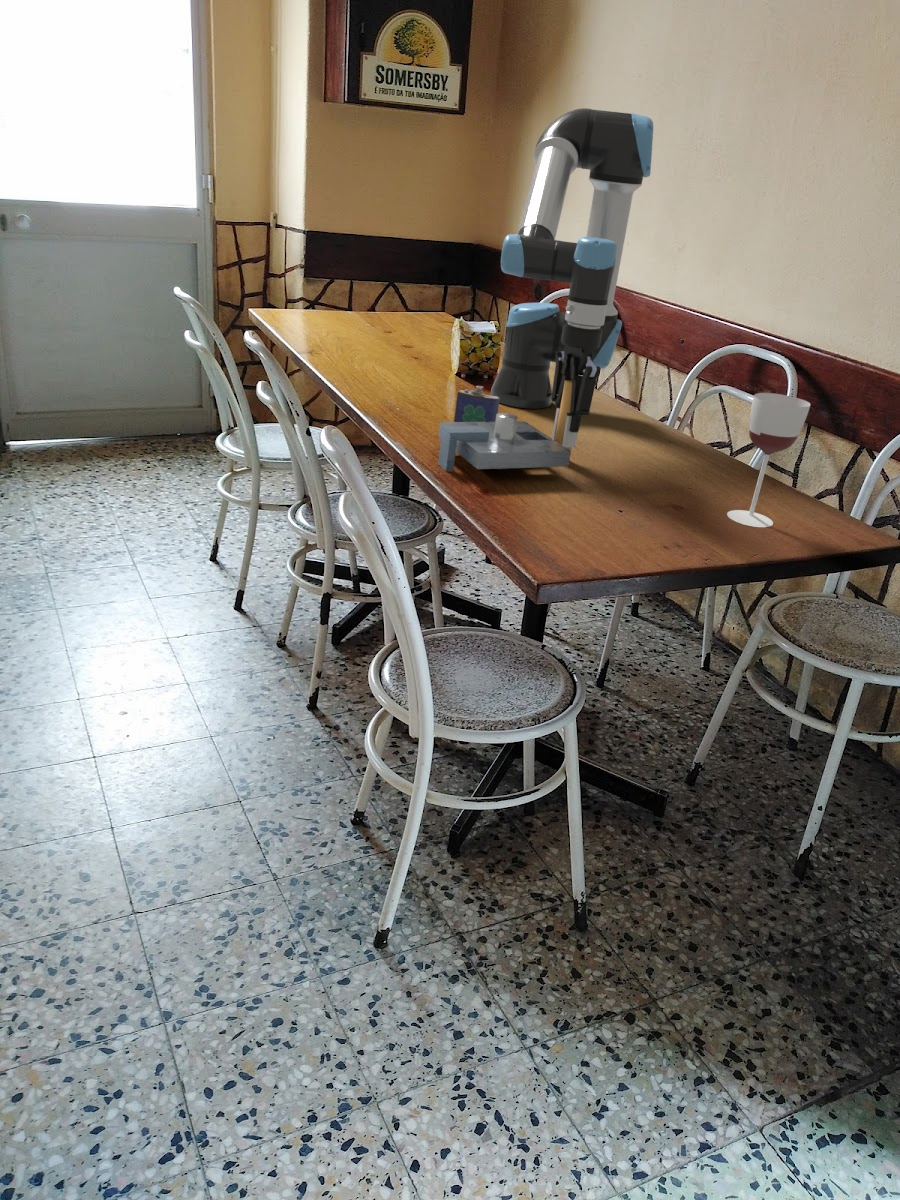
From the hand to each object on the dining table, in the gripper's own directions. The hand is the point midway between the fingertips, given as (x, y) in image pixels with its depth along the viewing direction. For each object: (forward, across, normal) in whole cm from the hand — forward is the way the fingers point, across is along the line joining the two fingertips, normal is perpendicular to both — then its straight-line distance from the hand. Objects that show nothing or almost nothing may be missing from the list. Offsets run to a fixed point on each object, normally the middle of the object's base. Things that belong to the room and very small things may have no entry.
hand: (563, 443), depth 187 cm
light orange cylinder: (+4, 0, 0) cm, 4 cm away
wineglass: (+4, +34, +21) cm, 40 cm away
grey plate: (+4, +2, -16) cm, 17 cm away
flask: (+4, -17, -12) cm, 21 cm away
